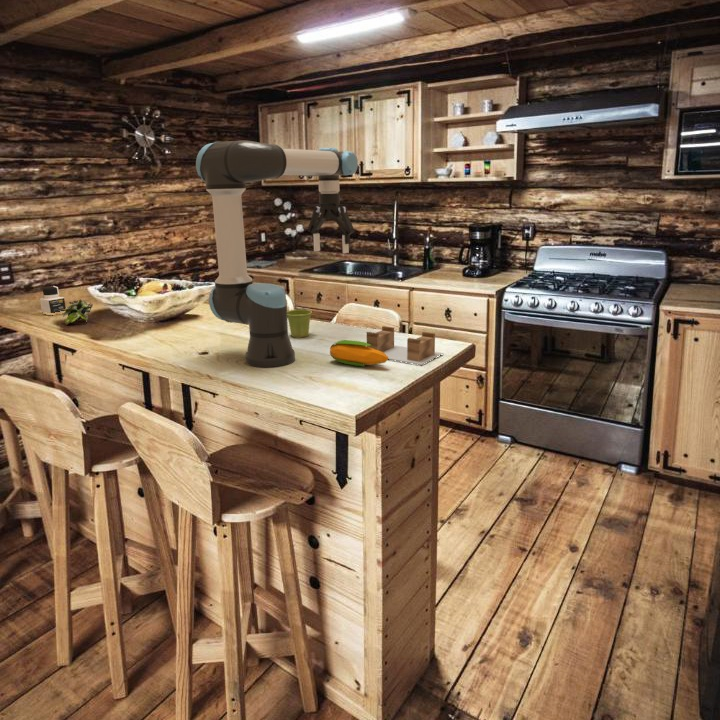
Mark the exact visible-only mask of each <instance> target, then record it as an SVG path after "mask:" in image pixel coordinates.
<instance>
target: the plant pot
mask: <svg viewBox="0 0 720 720" xmlns="http://www.w3.org/2000/svg"><path fill="white" fill-rule="evenodd" d="M312 313H313V312H312V310H309V309H293V310H292V309H291V310H287V322H288V327H289V332H290V335H291V337H293V338H298V339H299V338H303V337H308V336H309V330H310V321H311V317H312Z"/></svg>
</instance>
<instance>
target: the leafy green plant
mask: <svg viewBox="0 0 720 720" xmlns="http://www.w3.org/2000/svg"><path fill="white" fill-rule="evenodd" d="M68 303H69V305H68V306H67V308H66V309H64V310H65V312H64V313H62V314H61V315H62V317H63V318H64V317H65V316H67V317H66V319H65V321H64V324H65V323H66V324H67V325H68V324H70V323H71V324H72V323H74V322H76V321H75V320H76V319H79V320H82V319H83V320H85V323H86V322H87V323H88V318H89V314H90V313H91V309H92V308H93V305H94V304H93V303H91V302H86V301H84V300H82V299H78V300H75V299H74V300H72V301H69V302H68ZM86 313H87V314H86Z"/></svg>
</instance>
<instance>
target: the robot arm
mask: <svg viewBox="0 0 720 720" xmlns="http://www.w3.org/2000/svg"><path fill="white" fill-rule="evenodd" d="M358 159H359V158H358V157H357V155H356V154H355V152H354V151H351V150H348V151H347V150H344V151H339V149H338V148H336V147H319V148H318V149H317V150H314V149H298V148H283V147H282V146H281V145H279V144H273V143H267V142H265V143H264V142H259V141H258V142H257V141H252V140H231V141H215V142H212V143H207V144H205V145H204V146H203V147H201V149H200V150H199V152H198V154H197V155H196V160H195V170H196V173H197V175H198V177H200V180H201V181H202V182H204V183H205V188H206V189H205V190H206V192H208V193H209V194H210V195H211V198H212V210H213V220H214V232H215V243H216V245H215V246H216V256H217V267H218V274H219V275H218V277H217V278H216V279H215V280H214V287H213V288H211V291H210V292H211V293H209V296H208V304H209V309H210V310H211V313H212V314H213V315H214V316H215V317H216V318H217V319H219V320H221V321H224V322H226V323H230V324H232V323H233V324H239V325H246V326H248V329H249V341H248V346H247V351H246V353H245V363H246V364H247V365H249V366H252V367H256V368H257V367H258V368H273V367H274V368H275V367H281V366H286V365H289V364H291V363H293V362H294V361H295V359H296V352H295V350H294V348H293V347H292V342H291V339H290V337H289V330H288V329H289V321H288V318H287V311H288V305H287V304H288V301H287V295H286V291H285V289H284V288H283V287H282V286H280V285H277V284H274V283H268V282H267V283H264V282H257V283H254V282H253V278H252V277H251V276H250V275H248V267H247V266H248V265H247V256H246V255H247V253H246V241H245V240H246V239H245V229H244V227H245V226H244V216H243V215H244V214H243V203H242V202H243V201H242V194H243V193H244V192H245V191H246V190H247V186H246V185H247V184H248V183H253V182H260V181H265V180H276V179H280V178H282V177H283V176H302V177H318V192H319V194H318V198H319V199H318V203H319V205H320V206H313V208H312V211H313V212H312V214H311V218H310V221H309V224H308V227H307V232H309V233H311V239H312V243H313V252H314V253H315V252H320V251H321V242H320V241H321V240H320V239H321V237H320V236H321V235H320V233H319V230H320V229H321V228H322V227H323V224H324V223H325V222H326V221H327V220H333V221H335V223H336V224H337V226H338V227H339V229H340V230H341V232H342V233H343V234H342V236H341V239H342V241H341V242H342V254H349V253H350V252H349V251H350V249H349V246H350V243H351V235H352V234H354V233H355V229H354V226H353V224H352V222H351V221H352V220H351V219H350V216H349V214H348V209H347V206H341V207H340V203H341V197H340V196H341V194H340V193H339V192H340V191H341V190H340V176H349V175H350V176H352V175H354V174H356V172H357V170H358V167H359V164H358V162H359V161H358ZM246 183H247V184H246Z"/></svg>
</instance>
